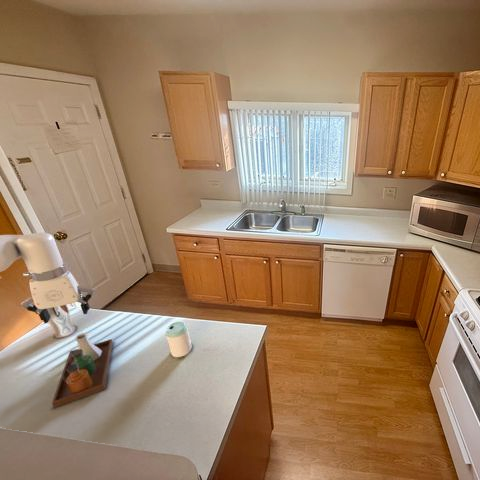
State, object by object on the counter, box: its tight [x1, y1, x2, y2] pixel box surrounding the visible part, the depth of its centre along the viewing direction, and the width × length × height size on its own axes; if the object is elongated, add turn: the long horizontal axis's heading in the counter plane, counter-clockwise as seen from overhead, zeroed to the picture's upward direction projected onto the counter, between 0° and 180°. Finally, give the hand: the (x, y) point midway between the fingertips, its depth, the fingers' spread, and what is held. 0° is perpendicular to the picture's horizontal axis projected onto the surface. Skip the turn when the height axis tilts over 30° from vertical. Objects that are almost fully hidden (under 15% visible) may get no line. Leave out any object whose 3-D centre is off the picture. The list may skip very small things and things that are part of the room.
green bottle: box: [71, 349, 96, 375], centre depth 86 cm, size 5×5×9 cm
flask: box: [74, 332, 102, 361], centre depth 91 cm, size 7×7×10 cm
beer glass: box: [47, 304, 76, 339], centre depth 101 cm, size 7×7×15 cm
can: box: [165, 321, 193, 358], centre depth 96 cm, size 7×7×12 cm
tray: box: [51, 339, 114, 408], centre depth 88 cm, size 22×12×2 cm, turn 31°
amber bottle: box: [66, 364, 93, 394], centre depth 81 cm, size 5×5×9 cm
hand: (67, 316), depth 85 cm, fingers open, 9 cm apart
